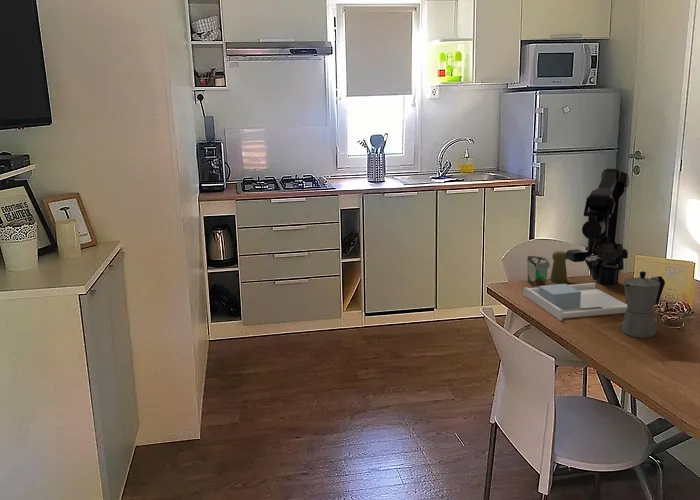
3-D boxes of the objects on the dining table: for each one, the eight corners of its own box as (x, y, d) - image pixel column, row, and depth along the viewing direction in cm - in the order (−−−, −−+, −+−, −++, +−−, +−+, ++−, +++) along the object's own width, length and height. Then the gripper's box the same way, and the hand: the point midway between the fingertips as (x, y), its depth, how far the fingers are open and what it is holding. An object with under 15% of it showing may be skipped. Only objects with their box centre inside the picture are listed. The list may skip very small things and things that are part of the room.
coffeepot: (634, 341, 175) (639, 279, 171) (608, 331, 184) (612, 271, 179) (674, 332, 181) (679, 271, 177) (646, 322, 190) (651, 263, 186)
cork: (565, 278, 236) (566, 249, 234) (569, 283, 230) (570, 253, 228) (548, 278, 237) (549, 249, 234) (551, 283, 231) (553, 253, 228)
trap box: (593, 289, 222) (594, 280, 222) (639, 313, 197) (639, 304, 196) (523, 295, 218) (523, 286, 218) (560, 320, 193) (561, 311, 192)
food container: (553, 291, 221) (554, 263, 219) (535, 292, 221) (536, 264, 219) (543, 281, 233) (544, 255, 231) (526, 281, 233) (527, 255, 231)
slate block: (564, 298, 211) (565, 283, 210) (580, 306, 202) (581, 291, 201) (538, 300, 210) (538, 286, 208) (552, 309, 201) (553, 294, 199)
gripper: (583, 239, 194) (581, 289, 197) (640, 236, 197) (636, 284, 200) (565, 232, 204) (563, 279, 208) (619, 229, 207) (616, 275, 211)
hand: (595, 279), depth 207 cm, fingers closed
